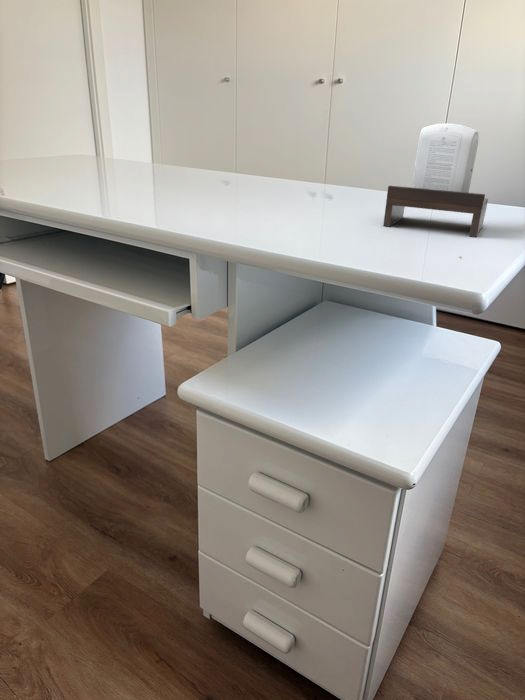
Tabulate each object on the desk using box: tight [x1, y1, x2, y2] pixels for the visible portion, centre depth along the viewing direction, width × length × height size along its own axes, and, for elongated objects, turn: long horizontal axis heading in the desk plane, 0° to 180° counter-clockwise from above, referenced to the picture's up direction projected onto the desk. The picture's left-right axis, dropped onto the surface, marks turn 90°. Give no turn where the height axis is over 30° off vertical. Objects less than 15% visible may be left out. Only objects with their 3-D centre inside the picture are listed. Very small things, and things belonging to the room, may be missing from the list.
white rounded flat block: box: [410, 122, 479, 193], centre depth 94 cm, size 10×4×12 cm, turn 52°
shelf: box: [382, 185, 489, 238], centre depth 97 cm, size 11×16×7 cm
